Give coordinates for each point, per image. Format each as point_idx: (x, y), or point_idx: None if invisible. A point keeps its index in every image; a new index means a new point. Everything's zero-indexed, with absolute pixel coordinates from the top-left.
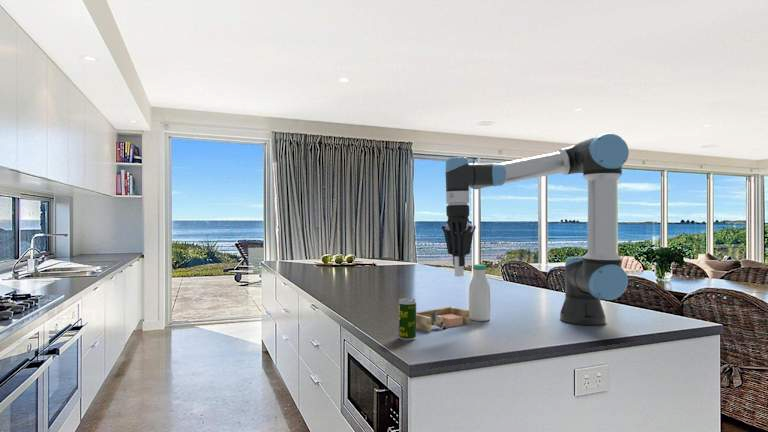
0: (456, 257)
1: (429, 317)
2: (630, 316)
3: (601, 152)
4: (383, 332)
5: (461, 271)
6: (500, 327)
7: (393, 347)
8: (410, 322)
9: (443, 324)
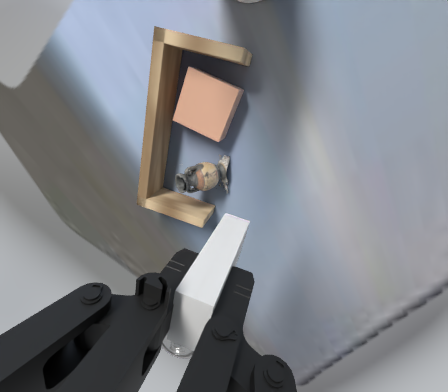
0: (189, 341)
1: (199, 220)
2: None
3: None
4: (148, 257)
5: (239, 251)
6: (368, 38)
7: None
8: None
9: (222, 174)
